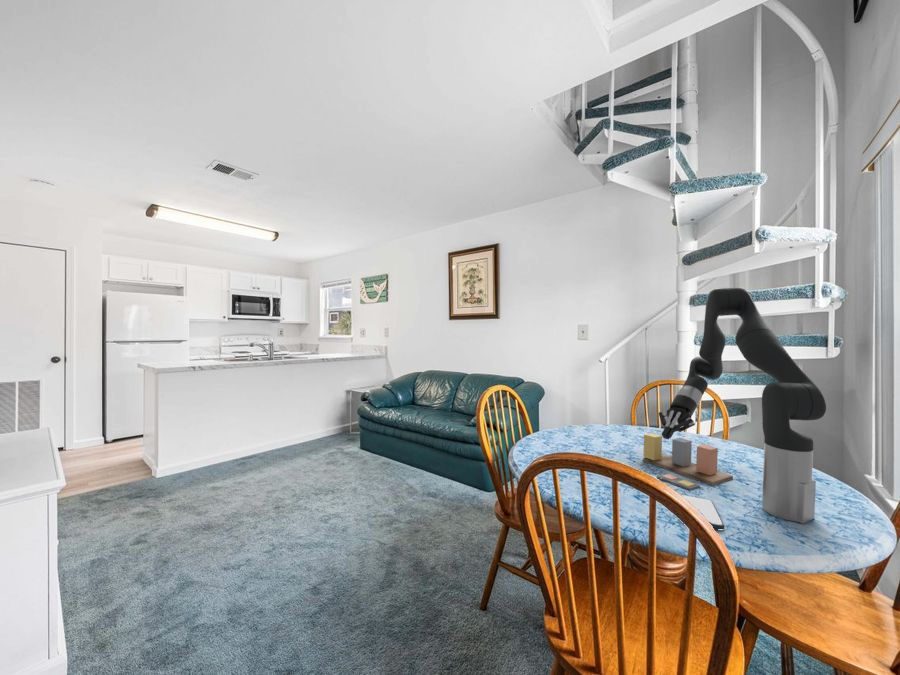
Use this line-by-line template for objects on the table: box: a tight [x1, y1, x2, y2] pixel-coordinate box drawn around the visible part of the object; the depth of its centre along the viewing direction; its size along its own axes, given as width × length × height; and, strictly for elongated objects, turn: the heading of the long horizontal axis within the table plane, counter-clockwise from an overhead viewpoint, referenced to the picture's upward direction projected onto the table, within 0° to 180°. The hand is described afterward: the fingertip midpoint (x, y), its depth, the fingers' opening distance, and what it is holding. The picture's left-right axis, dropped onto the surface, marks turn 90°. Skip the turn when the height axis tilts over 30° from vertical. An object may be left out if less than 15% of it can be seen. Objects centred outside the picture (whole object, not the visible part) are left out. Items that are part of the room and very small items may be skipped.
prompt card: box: [656, 472, 701, 491], centre depth 115 cm, size 10×5×1 cm, turn 27°
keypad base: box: [642, 453, 734, 486], centre depth 126 cm, size 23×11×1 cm, turn 27°
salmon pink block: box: [695, 443, 719, 475], centre depth 120 cm, size 4×4×8 cm
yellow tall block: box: [642, 432, 663, 460], centre depth 133 cm, size 4×4×8 cm
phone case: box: [681, 494, 725, 531], centre depth 97 cm, size 9×2×16 cm
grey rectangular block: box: [671, 437, 693, 467], centre depth 127 cm, size 4×4×8 cm
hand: (665, 437), depth 136 cm, fingers closed
